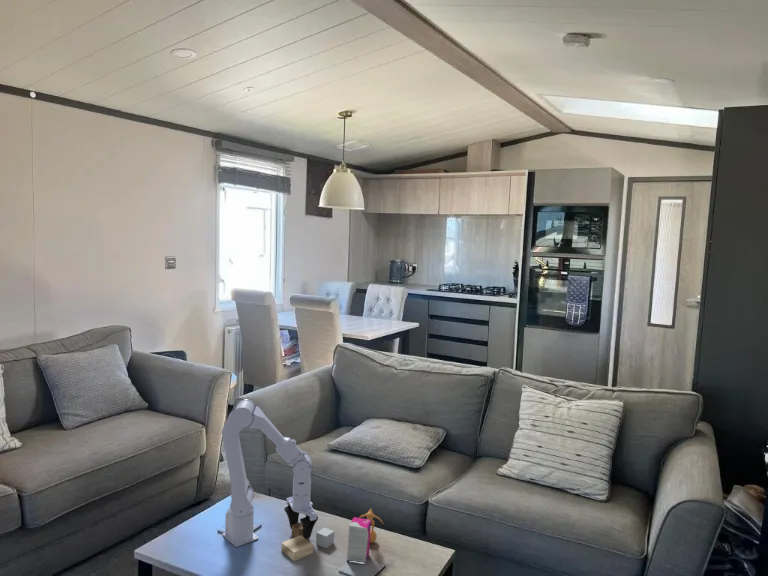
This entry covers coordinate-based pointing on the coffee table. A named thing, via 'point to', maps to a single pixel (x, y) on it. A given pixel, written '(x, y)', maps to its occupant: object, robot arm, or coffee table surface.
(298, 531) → the walnut cube
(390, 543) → the coffee table surface
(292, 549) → the beech slab
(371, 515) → the figurine
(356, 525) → the supplement box
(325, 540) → the grey cube
